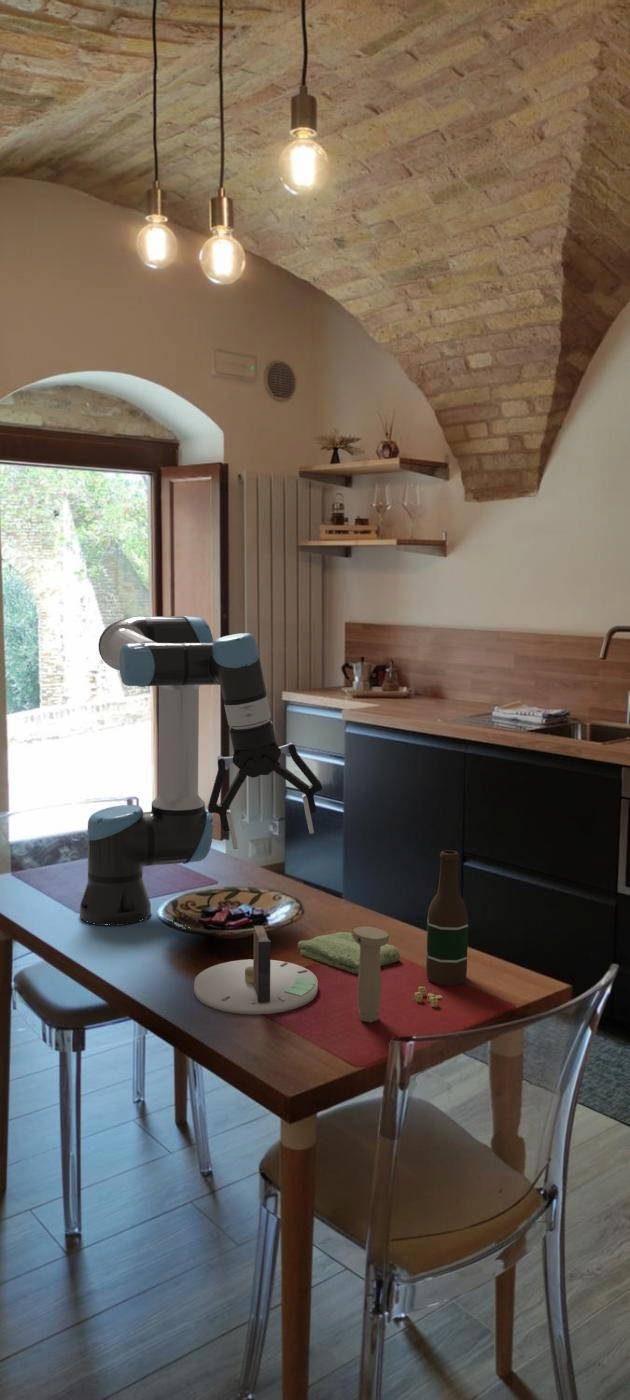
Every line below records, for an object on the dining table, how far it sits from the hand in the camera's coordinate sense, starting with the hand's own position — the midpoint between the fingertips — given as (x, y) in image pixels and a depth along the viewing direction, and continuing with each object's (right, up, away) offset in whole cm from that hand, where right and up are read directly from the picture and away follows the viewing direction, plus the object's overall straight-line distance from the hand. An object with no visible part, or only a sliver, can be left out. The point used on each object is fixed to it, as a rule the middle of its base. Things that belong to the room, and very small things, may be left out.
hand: (273, 839), depth 186 cm
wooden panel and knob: (-2, -26, -2) cm, 26 cm away
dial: (-3, -27, +2) cm, 27 cm away
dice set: (+27, -29, -1) cm, 39 cm away
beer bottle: (+32, -27, +9) cm, 42 cm away
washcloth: (+14, -26, +20) cm, 36 cm away
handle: (+16, -29, -10) cm, 35 cm away
